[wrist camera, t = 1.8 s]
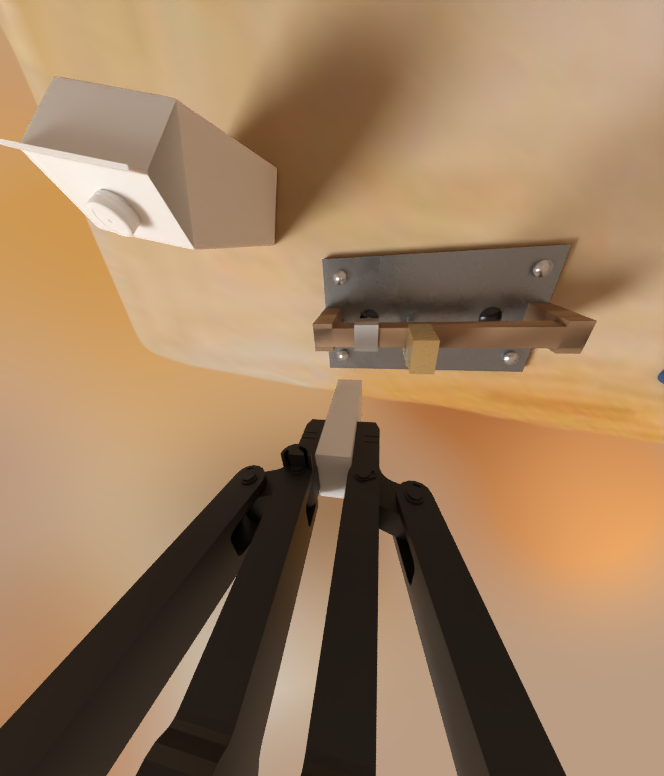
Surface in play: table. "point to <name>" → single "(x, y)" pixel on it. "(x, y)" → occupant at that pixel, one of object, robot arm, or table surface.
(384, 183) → the table surface
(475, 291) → the flange plate
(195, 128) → the milk carton
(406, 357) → the slider
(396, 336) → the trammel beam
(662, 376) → the smartphone
